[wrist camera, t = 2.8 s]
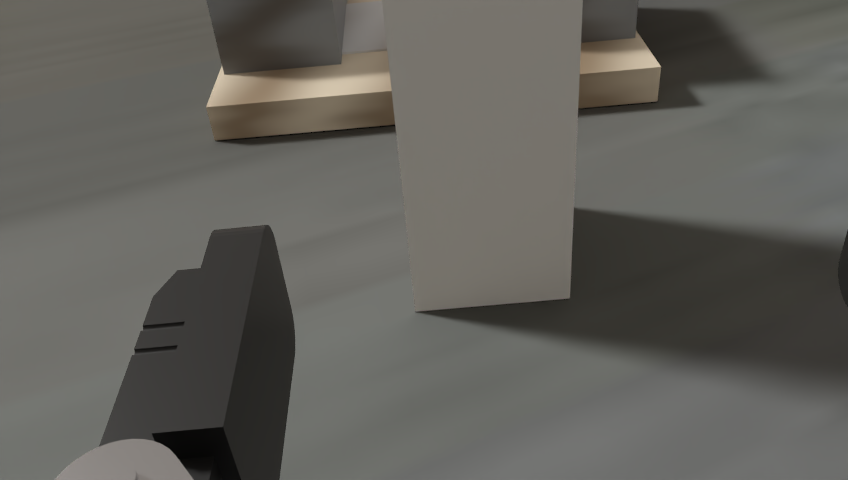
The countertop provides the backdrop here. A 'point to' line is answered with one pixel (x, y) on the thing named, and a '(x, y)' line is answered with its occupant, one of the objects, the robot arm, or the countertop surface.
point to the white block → (486, 146)
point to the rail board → (373, 64)
